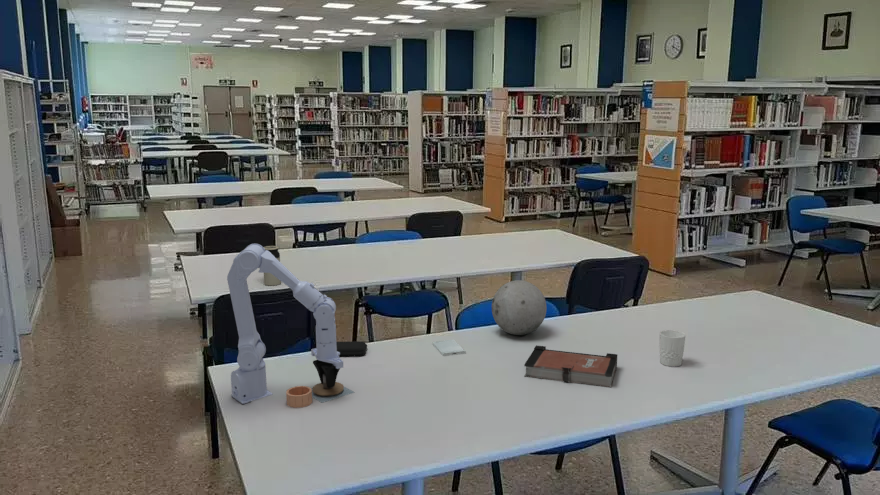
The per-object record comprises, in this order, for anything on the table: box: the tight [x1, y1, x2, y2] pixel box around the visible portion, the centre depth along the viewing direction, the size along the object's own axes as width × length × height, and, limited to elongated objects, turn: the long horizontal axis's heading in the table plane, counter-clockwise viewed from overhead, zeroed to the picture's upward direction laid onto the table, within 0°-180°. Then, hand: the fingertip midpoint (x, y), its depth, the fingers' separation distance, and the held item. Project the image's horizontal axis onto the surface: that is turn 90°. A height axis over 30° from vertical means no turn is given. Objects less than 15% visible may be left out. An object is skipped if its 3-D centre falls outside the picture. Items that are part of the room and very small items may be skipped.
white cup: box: [659, 329, 687, 368], centre depth 218 cm, size 8×8×10 cm
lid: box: [312, 373, 345, 396], centre depth 197 cm, size 9×9×5 cm
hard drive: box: [431, 339, 467, 357], centre depth 234 cm, size 2×8×12 cm
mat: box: [310, 386, 355, 404], centre depth 198 cm, size 11×11×1 cm
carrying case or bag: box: [336, 340, 368, 358], centre depth 232 cm, size 11×3×15 cm
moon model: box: [491, 279, 547, 336], centre depth 247 cm, size 20×20×20 cm
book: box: [523, 345, 618, 388], centre depth 211 cm, size 26×18×5 cm
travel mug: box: [263, 245, 282, 287], centre depth 323 cm, size 8×8×18 cm
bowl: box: [285, 385, 313, 409], centre depth 190 cm, size 7×7×4 cm
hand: (328, 384), depth 197 cm, fingers closed on lid, 3 cm apart
